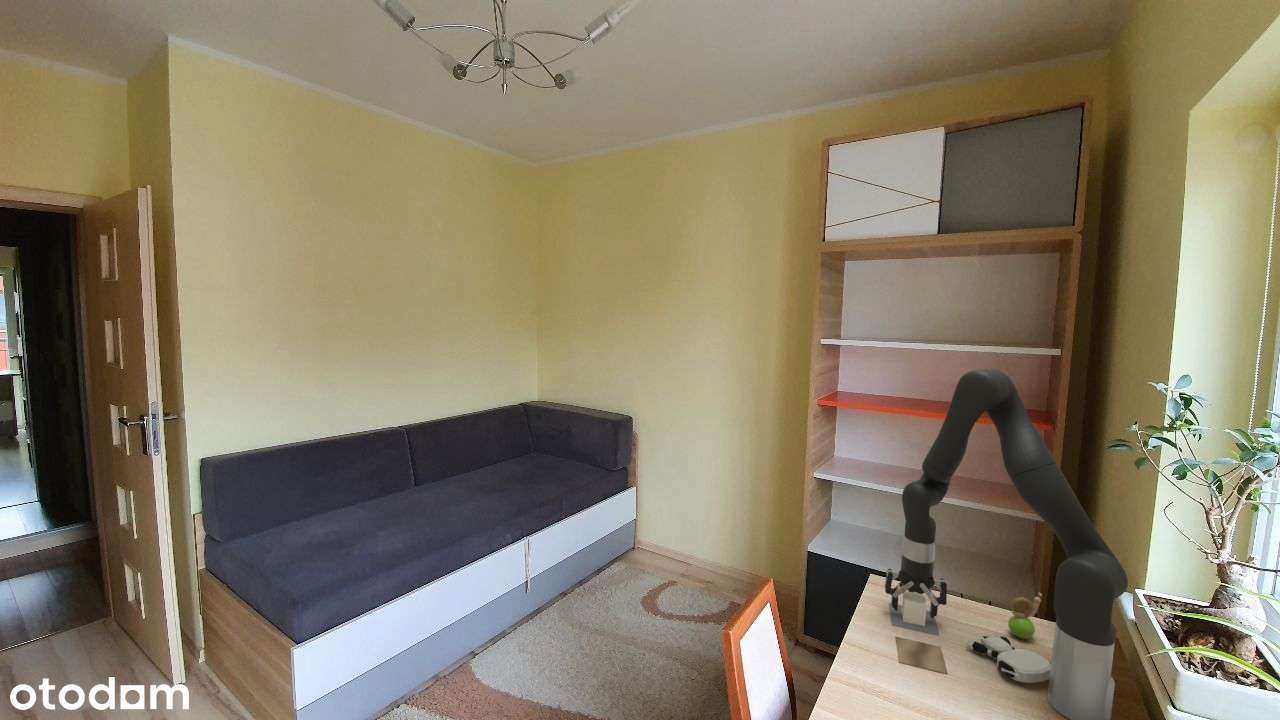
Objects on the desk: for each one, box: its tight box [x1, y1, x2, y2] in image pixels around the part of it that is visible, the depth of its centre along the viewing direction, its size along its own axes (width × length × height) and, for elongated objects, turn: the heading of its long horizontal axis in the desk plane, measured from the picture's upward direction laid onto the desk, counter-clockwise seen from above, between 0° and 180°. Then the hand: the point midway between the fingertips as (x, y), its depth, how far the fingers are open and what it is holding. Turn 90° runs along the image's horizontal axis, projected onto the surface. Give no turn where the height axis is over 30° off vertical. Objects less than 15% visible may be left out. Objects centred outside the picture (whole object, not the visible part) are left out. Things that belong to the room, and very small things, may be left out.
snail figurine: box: [1007, 592, 1043, 640], centre depth 131 cm, size 5×6×12 cm
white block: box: [901, 590, 928, 626], centre depth 137 cm, size 5×5×6 cm
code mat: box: [888, 602, 941, 637], centre depth 138 cm, size 11×11×1 cm
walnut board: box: [894, 635, 949, 676], centre depth 124 cm, size 10×10×1 cm
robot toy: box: [965, 635, 1051, 684], centre depth 120 cm, size 12×4×15 cm
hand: (913, 612), depth 138 cm, fingers open, 8 cm apart
